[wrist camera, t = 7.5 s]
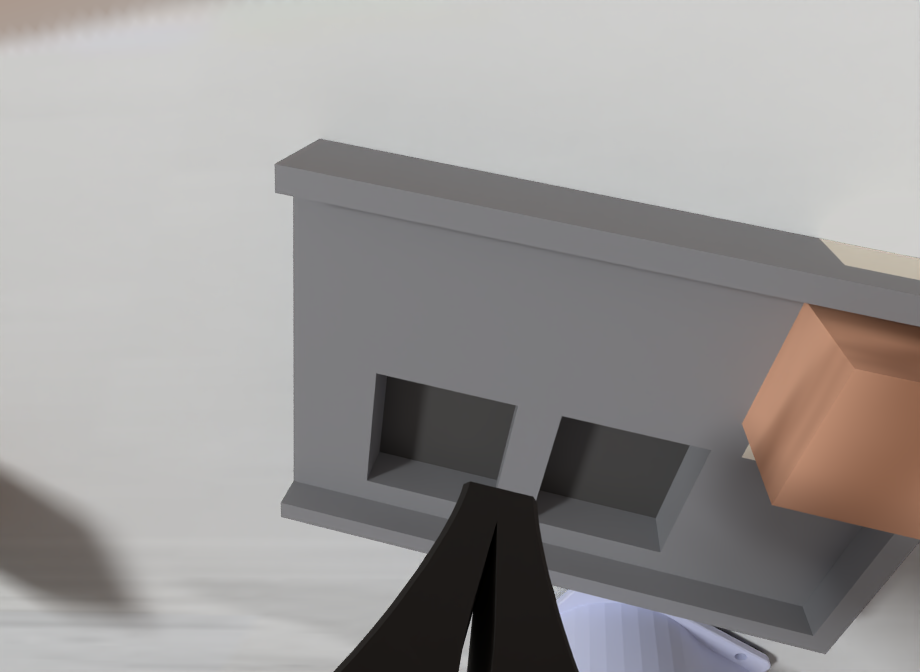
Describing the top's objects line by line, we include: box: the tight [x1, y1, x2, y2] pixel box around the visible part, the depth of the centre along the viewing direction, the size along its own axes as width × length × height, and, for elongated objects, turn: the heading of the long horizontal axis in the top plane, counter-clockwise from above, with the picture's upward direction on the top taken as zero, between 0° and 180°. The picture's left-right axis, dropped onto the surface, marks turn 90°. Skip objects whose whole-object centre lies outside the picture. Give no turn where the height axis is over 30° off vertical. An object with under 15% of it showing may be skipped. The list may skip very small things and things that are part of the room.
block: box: [742, 303, 920, 540], centre depth 16 cm, size 4×4×4 cm
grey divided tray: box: [275, 139, 920, 654], centre depth 20 cm, size 21×14×3 cm, turn 82°
